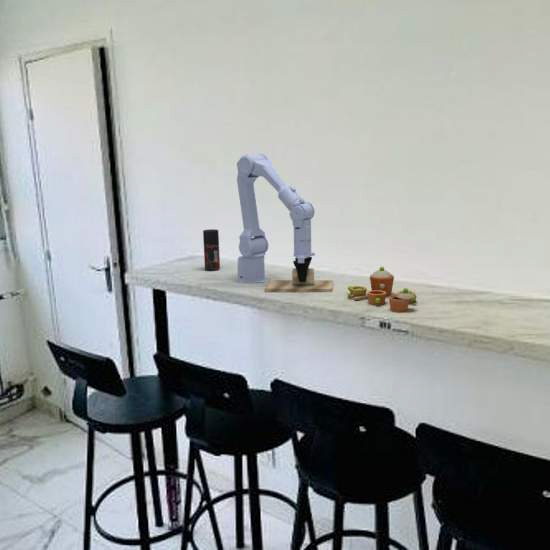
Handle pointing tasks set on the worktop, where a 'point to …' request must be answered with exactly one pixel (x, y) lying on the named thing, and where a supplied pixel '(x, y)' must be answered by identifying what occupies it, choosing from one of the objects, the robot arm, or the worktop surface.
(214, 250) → the deodorant
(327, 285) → the board
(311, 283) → the block
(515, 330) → the worktop surface
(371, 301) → the toy tea set
